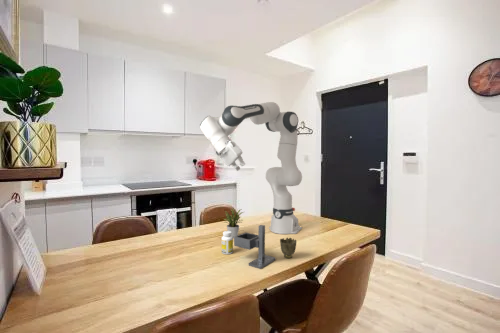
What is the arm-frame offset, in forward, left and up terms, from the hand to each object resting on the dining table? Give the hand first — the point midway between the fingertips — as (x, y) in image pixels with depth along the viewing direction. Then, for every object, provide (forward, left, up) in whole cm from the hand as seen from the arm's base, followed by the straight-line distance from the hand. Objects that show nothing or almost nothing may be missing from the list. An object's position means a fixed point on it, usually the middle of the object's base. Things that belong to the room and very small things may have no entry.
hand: (241, 167), depth 132 cm
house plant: (-14, -15, -40) cm, 45 cm away
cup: (-4, +24, -40) cm, 47 cm away
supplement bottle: (+8, -2, -40) cm, 41 cm away
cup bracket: (+9, +14, -40) cm, 43 cm away
